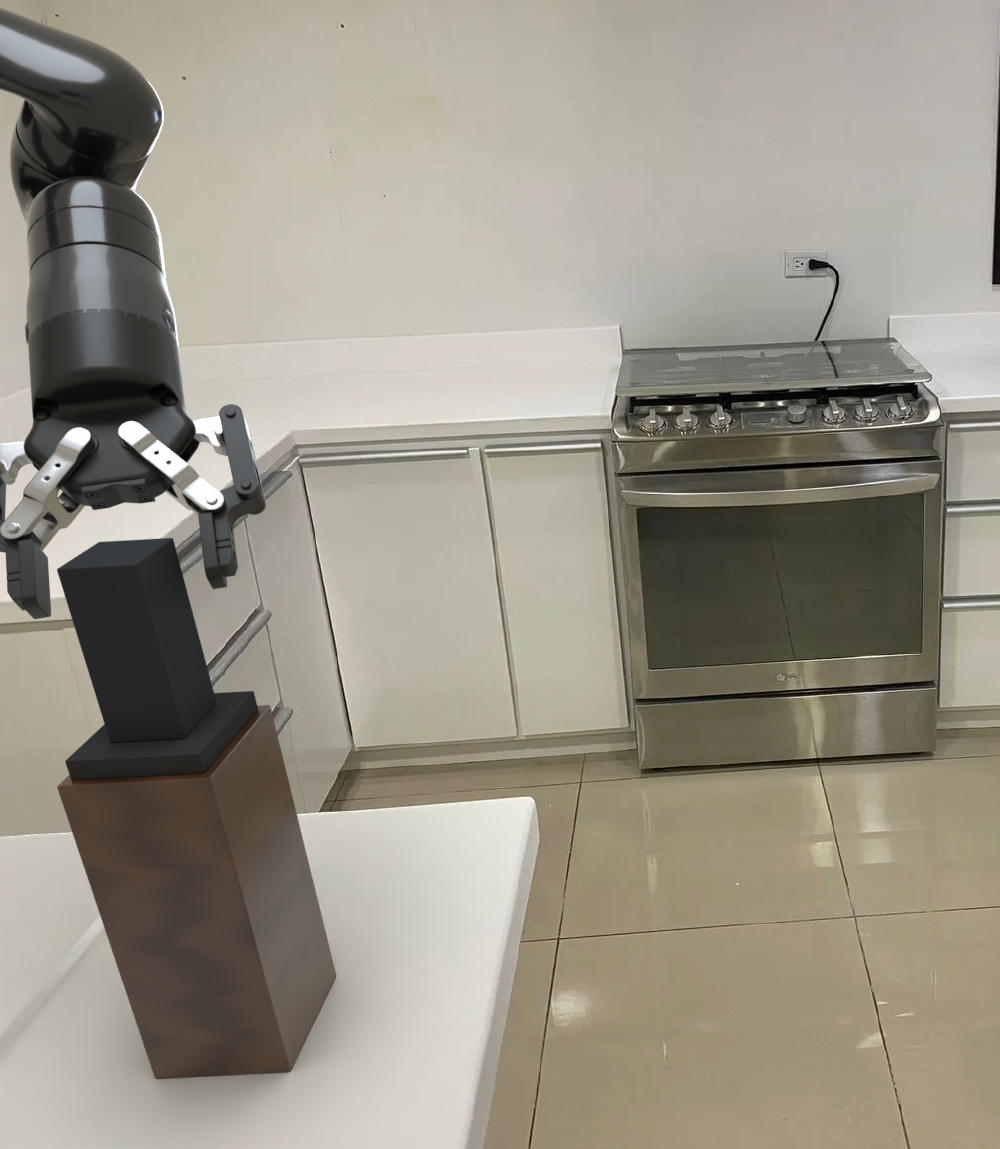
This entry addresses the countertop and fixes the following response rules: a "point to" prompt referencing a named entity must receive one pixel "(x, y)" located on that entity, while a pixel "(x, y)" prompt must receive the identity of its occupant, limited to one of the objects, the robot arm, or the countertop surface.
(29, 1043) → the countertop surface
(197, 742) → the rubber pad
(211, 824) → the block
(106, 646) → the foam block
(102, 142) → the robot arm
